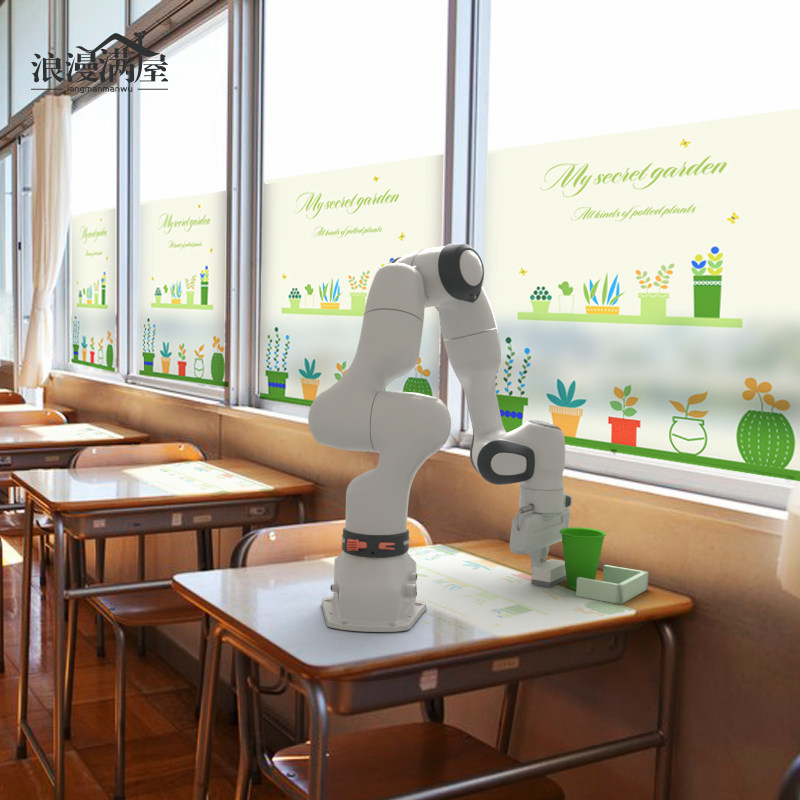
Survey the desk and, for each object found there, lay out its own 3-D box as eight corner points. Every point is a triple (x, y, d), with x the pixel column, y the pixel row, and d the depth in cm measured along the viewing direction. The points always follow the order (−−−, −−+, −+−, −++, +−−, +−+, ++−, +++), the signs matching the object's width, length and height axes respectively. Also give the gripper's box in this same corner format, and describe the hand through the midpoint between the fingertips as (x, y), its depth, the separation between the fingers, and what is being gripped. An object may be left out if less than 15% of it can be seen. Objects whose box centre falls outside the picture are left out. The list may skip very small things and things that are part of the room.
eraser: (550, 587, 206) (550, 569, 205) (531, 584, 208) (532, 566, 207) (568, 578, 213) (569, 561, 213) (550, 575, 215) (551, 558, 215)
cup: (547, 585, 207) (550, 530, 206) (576, 578, 213) (578, 525, 212) (584, 595, 200) (587, 538, 200) (612, 588, 207) (615, 533, 206)
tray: (620, 604, 195) (621, 585, 195) (576, 596, 200) (576, 578, 199) (647, 589, 206) (648, 571, 206) (604, 581, 211) (605, 564, 211)
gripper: (532, 510, 200) (529, 581, 202) (575, 496, 218) (572, 562, 219) (503, 506, 204) (500, 575, 205) (548, 493, 221) (545, 557, 222)
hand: (538, 568), depth 212 cm, fingers closed, pressing on eraser
